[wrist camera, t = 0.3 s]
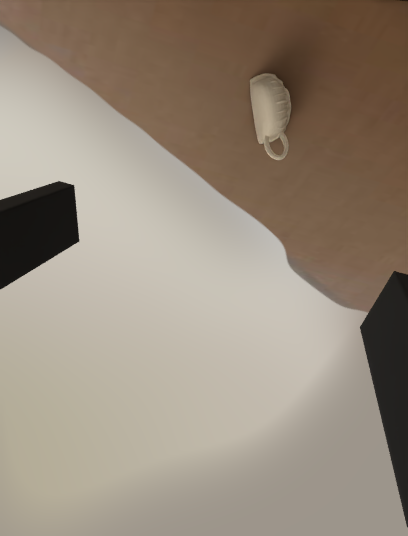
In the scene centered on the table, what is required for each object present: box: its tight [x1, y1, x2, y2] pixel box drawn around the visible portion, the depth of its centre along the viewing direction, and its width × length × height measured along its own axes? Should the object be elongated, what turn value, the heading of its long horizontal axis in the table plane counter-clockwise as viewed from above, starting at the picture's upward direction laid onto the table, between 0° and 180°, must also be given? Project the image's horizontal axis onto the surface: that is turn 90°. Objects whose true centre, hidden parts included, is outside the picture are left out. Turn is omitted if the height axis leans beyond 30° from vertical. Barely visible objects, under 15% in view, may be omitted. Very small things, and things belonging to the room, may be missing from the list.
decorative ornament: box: [250, 73, 292, 160], centre depth 31 cm, size 4×8×5 cm, turn 13°
